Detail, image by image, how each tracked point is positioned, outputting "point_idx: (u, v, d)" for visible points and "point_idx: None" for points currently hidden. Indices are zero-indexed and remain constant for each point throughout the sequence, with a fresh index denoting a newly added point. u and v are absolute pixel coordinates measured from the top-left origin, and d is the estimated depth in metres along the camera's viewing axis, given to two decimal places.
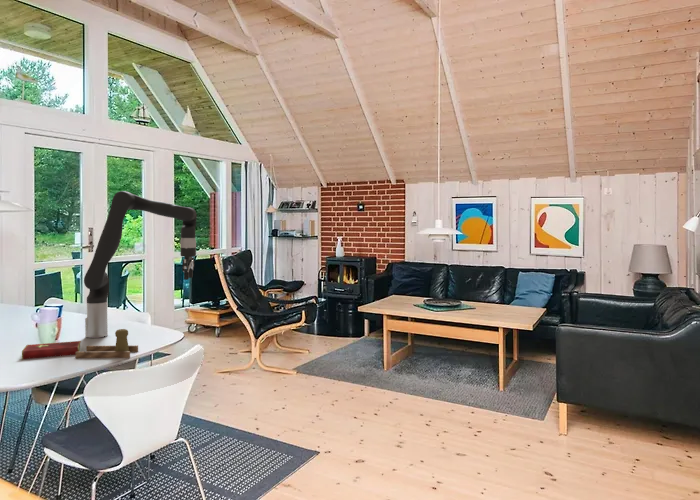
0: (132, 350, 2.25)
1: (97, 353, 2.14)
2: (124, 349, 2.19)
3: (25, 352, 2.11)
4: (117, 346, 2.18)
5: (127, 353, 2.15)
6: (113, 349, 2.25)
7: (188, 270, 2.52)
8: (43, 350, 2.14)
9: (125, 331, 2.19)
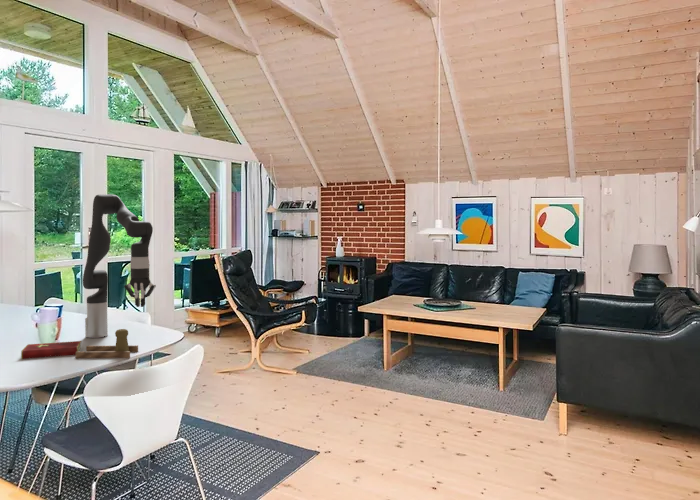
0: (132, 350, 2.25)
1: (97, 353, 2.14)
2: (124, 349, 2.19)
3: (24, 352, 2.12)
4: (117, 346, 2.18)
5: (127, 353, 2.15)
6: (113, 349, 2.25)
7: None
8: (42, 350, 2.14)
9: (125, 331, 2.19)
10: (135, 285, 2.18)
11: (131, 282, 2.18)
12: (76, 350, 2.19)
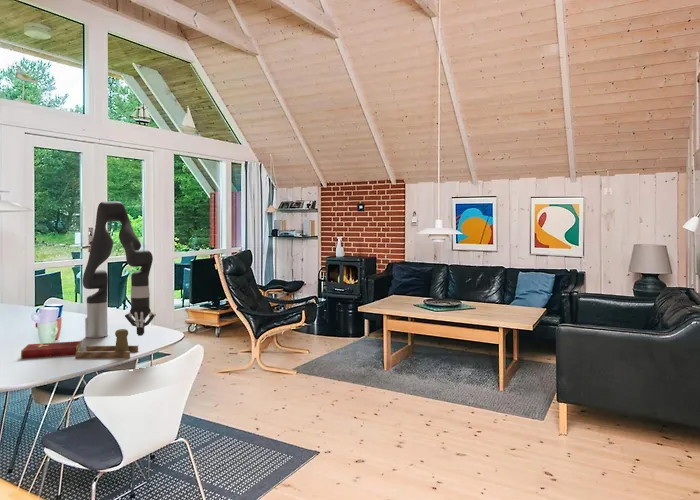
0: (132, 350, 2.25)
1: (97, 353, 2.14)
2: (124, 349, 2.19)
3: (24, 352, 2.12)
4: (117, 346, 2.18)
5: (127, 353, 2.15)
6: (113, 349, 2.25)
7: None
8: (42, 350, 2.14)
9: (125, 331, 2.19)
10: (135, 314, 2.18)
11: (131, 311, 2.19)
12: (76, 350, 2.18)
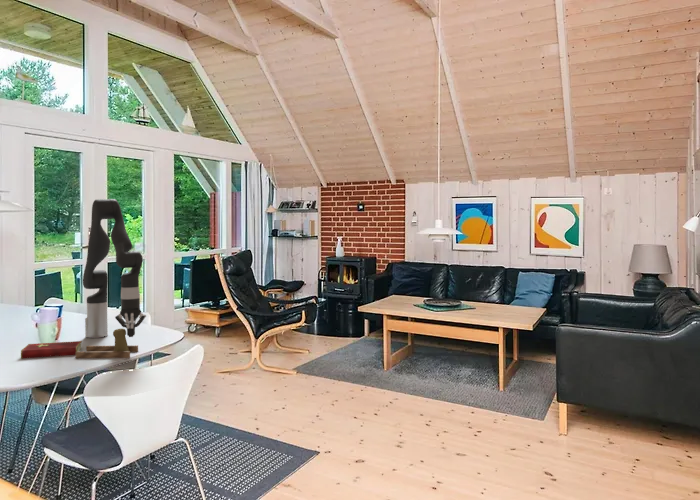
0: (132, 350, 2.25)
1: (97, 353, 2.14)
2: (124, 348, 2.19)
3: (24, 351, 2.12)
4: (116, 346, 2.18)
5: (127, 353, 2.15)
6: (113, 349, 2.25)
7: None
8: (42, 350, 2.14)
9: (123, 330, 2.19)
10: (126, 315, 2.18)
11: (121, 312, 2.19)
12: (75, 350, 2.18)
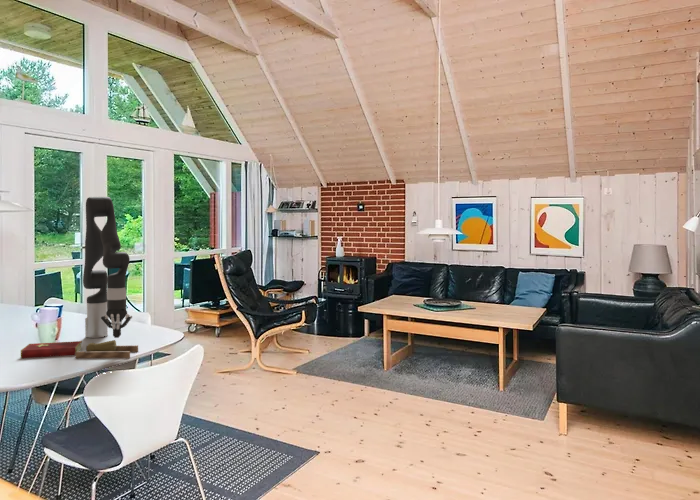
0: (132, 350, 2.25)
1: (97, 353, 2.14)
2: (107, 342, 2.20)
3: (24, 351, 2.13)
4: (103, 349, 2.18)
5: (127, 353, 2.15)
6: None
7: None
8: (41, 350, 2.15)
9: (88, 344, 2.18)
10: (112, 316, 2.18)
11: (108, 313, 2.18)
12: (74, 350, 2.18)
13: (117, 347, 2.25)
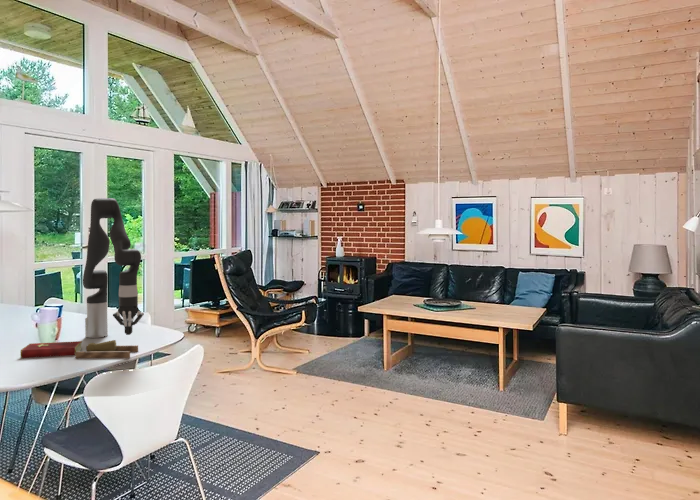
0: (132, 350, 2.25)
1: (97, 353, 2.14)
2: (107, 342, 2.20)
3: (24, 351, 2.13)
4: (103, 349, 2.18)
5: (127, 353, 2.15)
6: None
7: None
8: (41, 350, 2.15)
9: (88, 344, 2.19)
10: (123, 313, 2.18)
11: (119, 310, 2.19)
12: (74, 350, 2.18)
13: (117, 347, 2.25)
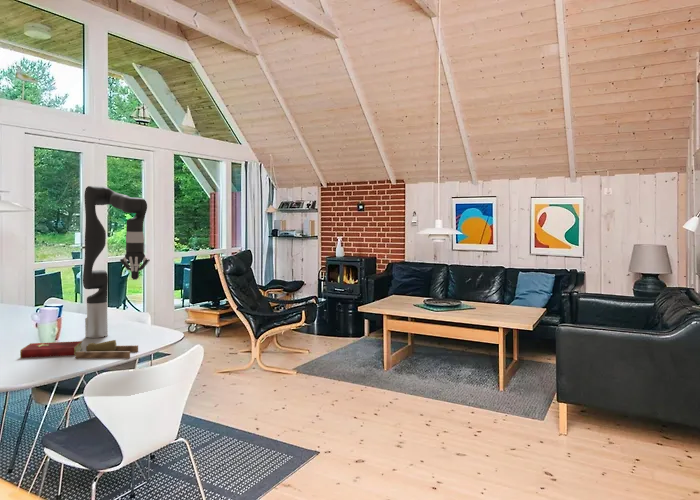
0: (132, 350, 2.25)
1: (97, 353, 2.14)
2: (107, 342, 2.20)
3: (23, 351, 2.13)
4: (103, 348, 2.18)
5: (127, 353, 2.15)
6: None
7: None
8: (41, 350, 2.15)
9: (89, 344, 2.19)
10: (130, 259, 2.28)
11: (126, 256, 2.29)
12: (73, 350, 2.18)
13: (117, 347, 2.25)
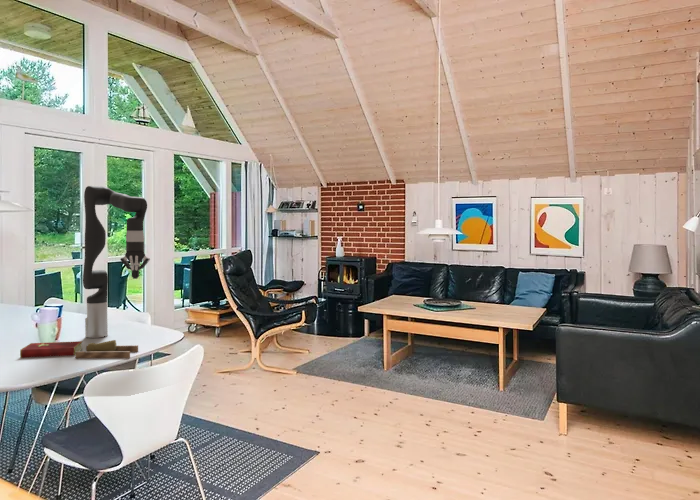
0: (132, 350, 2.25)
1: (97, 353, 2.14)
2: (107, 342, 2.20)
3: (23, 351, 2.13)
4: (103, 349, 2.18)
5: (127, 353, 2.15)
6: None
7: None
8: (40, 349, 2.15)
9: (88, 344, 2.19)
10: (130, 258, 2.29)
11: (126, 255, 2.29)
12: (73, 351, 2.18)
13: (117, 347, 2.25)
